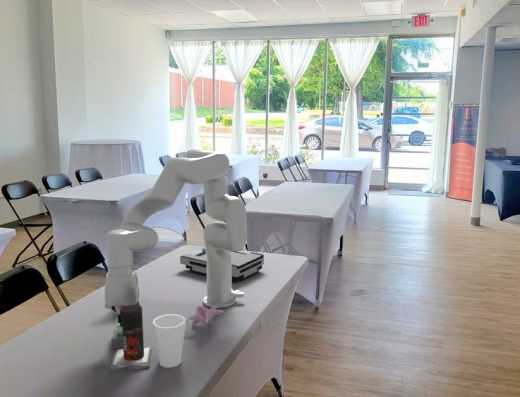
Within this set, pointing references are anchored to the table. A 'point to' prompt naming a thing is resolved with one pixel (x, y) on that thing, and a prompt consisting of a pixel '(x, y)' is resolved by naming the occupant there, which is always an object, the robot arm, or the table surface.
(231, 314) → the table surface
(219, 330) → the table surface
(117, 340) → the button housing
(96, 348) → the table surface
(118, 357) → the grey flat square block
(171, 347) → the foam cup
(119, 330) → the button
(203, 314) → the lily
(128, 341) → the deodorant
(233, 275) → the office tray
